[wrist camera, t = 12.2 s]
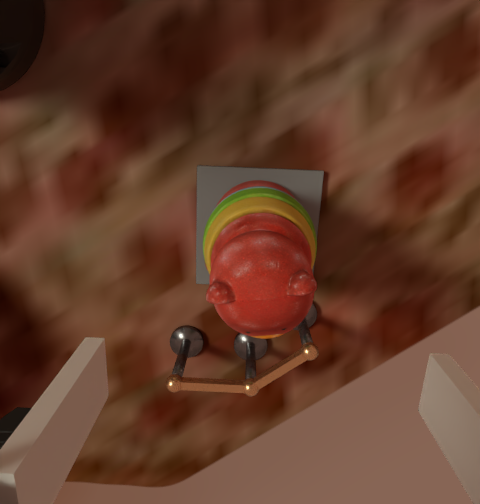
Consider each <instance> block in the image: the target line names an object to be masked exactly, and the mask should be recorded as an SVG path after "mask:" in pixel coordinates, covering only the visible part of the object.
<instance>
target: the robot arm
mask: <svg viewBox="0 0 480 504" xmlns="http://www.w3.org/2000/svg"><path fill="white" fill-rule="evenodd" d="M43 30H44V2H43V0H0V90H3V89H5V88H7V87H8V86H10V85H12V84H13V83H15V82H16V81H17V80H18V79H19V78H20V77H21V76H22V75H23V74H24V73H25V72H26V71H27V70H28V68H29V67H30V66H31V64H32V62H33V61H34V59H35V57H36V55H37V52H38V50H39V47H40V44H41V40H42V36H43ZM107 398H108V381H107V367H106V353H105V338H88V337H86V338H85V339H84V340H83V342H82V343H81V344H80V345H79V347H78V348H77V349H76V351H75V352H74V353H73V355H72V356H71V357H70V359H69V360H68V361H67V363H66V364H65V365H64V366H63V368H62V369H61V370H60V372H59V373H58V374H57V376H56V377H55V378H54V380H53V381H52V382H51V384H50V385H49V386H48V387H47V389H46V390H45V391H44V393H43V394H42V395H41V397H40V398H39V399H38V401H37V402H36V403H35V405H34V406H33V407H32V408H20V407H17V408H16V409H14V410H13V411H11V412H10V413H8V414H7V415H6V416H4V417H3V418H2V419H1V420H0V504H53V503H54V501H55V499H56V497H57V495H58V493H59V491H60V489H61V487H62V485H63V483H64V481H65V479H66V477H67V476H68V474H69V472H70V470H71V468H72V466H73V464H74V462H75V460H76V458H77V456H78V454H79V452H80V450H81V448H82V446H83V444H84V442H85V441H86V439H87V437H88V435H89V433H90V431H91V429H92V427H93V425H94V423H95V421H96V419H97V417H98V415H99V413H100V411H101V409H102V407H103V406H104V404H105V402H106V400H107ZM418 411H419V413H420V414H421V416H422V418H423V420H424V421H425V423H426V425H427V426H428V428H429V430H430V431H431V433H432V435H433V437H434V438H435V440H436V442H437V443H438V445H439V447H440V448H441V450H442V452H443V454H444V455H445V457H446V459H447V460H448V462H449V464H450V465H451V467H452V469H453V470H454V472H455V474H456V475H457V477H458V479H459V480H460V482H461V484H462V486H463V487H464V489H465V491H466V492H467V494H468V496H469V498H470V499H471V501H472V503H473V504H480V389H479V388H478V387H477V386H476V385H475V384H474V382H473V381H472V380H471V379H470V378H469V377H468V375H467V374H466V373H465V372H464V371H463V370H462V369H461V367H460V366H459V365H458V364H457V363H456V362H455V360H454V359H453V358H452V357H451V356H450V355H449V354H435V353H430V356H429V360H428V365H427V370H426V374H425V379H424V384H423V389H422V394H421V398H420V403H419V408H418Z"/></svg>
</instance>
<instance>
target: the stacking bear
mask: <svg viewBox="0 0 480 504" xmlns="http://www.w3.org/2000/svg"><path fill="white" fill-rule="evenodd" d="M316 252H317V238H316V232H315V228H314V225H313V222H312V220H311V218H310V216H309V214H308V213H307V211H306V210H305V209H304V207H303V206H302V205H301V204H300V203H299V202H298V201H297V200H296V199H295V197H294V196H293V195H292V194H291V193H290V192H289V191H288V190H287V189H285V188H284V187H282V186H280V185H278V184H276V183H273V182H270V181H263V180H253V181H247V182H244V183H241V184H239V185H236V186H235V187H233V188H231V189H230V190H229V191H228V192H226V193H225V194H224V195H223V197H222V198H221V199H220V201H219V202H218V204H217V205H216V207H215V209H214V210H213V212H212V214H211V215H210V217H209V219H208V221H207V224H206V227H205V230H204V235H203V255H204V261H205V266H206V269H207V271H208V272H209V274H210V286H209V288H208V290H207V293H206V300H207V301H208V302H210V303H212V304H214V305H215V308H216V310H217V312H218V314H219V315H220V317H221V318H222V319H223V320H224V322H225V323H226V324H227V325H228V326H230V327H231V328H233V329H234V330H236V331H238V332H240V333H242V334H244V335H248V336H251V337H255V338H261V339H268V338H275V337H278V336H281V335H283V334H284V333H287V332H289V331H290V330H292V329H294V328H295V327H296V326H298V325H299V324H300V323H301V322H302V321H303V319H304V318H305V317H306V315H307V314H308V312H309V310H310V308H311V306H312V302H313V298H314V291H316V290H317V282H316V280H315V279H314V277H313V272H312V269H313V266H314V262H315V259H316Z"/></svg>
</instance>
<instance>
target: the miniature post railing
mask: <svg viewBox="0 0 480 504" xmlns="http://www.w3.org/2000/svg"><path fill="white" fill-rule="evenodd" d="M316 318H317V311H316V308H315V305H314V304H313V302H312V306H311V308H310V310H309V312H308V314H307V315H306V317H305V318H304V319H303V321H302V322H301V323H300V324H299V325H298V326H296V327H295V328H294V330H299V334H300V338H301V342H302V346H301V349H300V350H298V351H297V352H295V353H293V354H292V355H290V356H288V357H287V358H285V359H284V360H282V361H280V362H279V363H277V364H275V365H274V366H272V367H271V368H269V369H267V370H266V371H264V372H263V373H261V374H259V375H258V376H256V360H257V359H259V358H261V357H262V356H263V355H264V354H265V353H266V351H267V340H266V339H261V338H255V337H251V336H248V335H244V334H242V333H238V335H237V336H236V338H235V341H234V349H235V352H236V353H237V355H238V356H239V357H241V358H242V359H244V360H246V380H229V379H209V378H188V377H182V375H183V371H184V368H185V364H186V360H187V358H189V357H193V356H196V355H197V354H198V353H199V352H200V351H201V350H202V347H203V342H204V340H203V336H202V334H201V332H200V331H199V330H198V329H196V328H195V327H192V326H181V327H178V328H177V329H176V330H175V331H174V332H173V333H172V336H171V338H170V346H171V348H172V350H173V351H174V352H175V353H176V354H177V355H178V356H177V359H176V362H175V366H174V369H173V372H172V375H170V376H169V377H168V378H167V380H166V387H167V389H168V390H169V391H170V392H178V391H180V390H192V391H212V392H232V393H245V394H246V395H248V396H254V395H256V394H257V393H258V391H259V389H260V388H262V387H264V386H265V385H267V384H269V383H270V382H272V381H274V380H275V379H277V378H278V377H280V376H282V375H283V374H285V373H287V372H288V371H290V370H292V369H293V368H295V367H297V366H298V365H300V364H302V363H303V362H305V361H306V360H314V359H315V358H316V357H317V356H318V353H319V350H318V347H317V346H316V344H314V343H313V341H312V338H311V334H310V331H309V327H311V326H312V325H313V324H314V322H315V321H316Z"/></svg>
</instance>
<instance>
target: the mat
mask: <svg viewBox="0 0 480 504" xmlns="http://www.w3.org/2000/svg"><path fill="white" fill-rule="evenodd" d="M323 175H324V171H319V170H296V169H273V168H249V167H226V166H203V165H198V166H197V240H196V284H210V274H209V272H208V271H207V269H206V266H205V261H204V255H203V235H204V230H205V227H206V224H207V221H208V219H209V217H210V215H211V214H212V212H213V210H214V209H215V207H216V205H217V204H218V202H219V201H220V199H221V198H222V197H223V195H224V194H225V193H226V192H228V191H229V190H230V189H231V188H233V187H235V186H236V185H239V184H241V183H244V182H247V181H253V180H263V181H270V182H273V183H276V184H278V185H280V186H282V187H284V188H285V189H287V190H288V191H289V192H290V193H291V194H292V195H293V196H294V197H295V199H296V200H297V201H298V202H299V203H300V204H301V205H302V206H303V207H304V209H305V210H306V211H307V213H308V214H309V216H310V218H311V220H312V222H313V225H314V228H315V232H316V238H317V234H318V224H319V214H320V205H321V195H322V185H323ZM314 264H315V262H314ZM312 272H313V274H314V266H313V269H312Z"/></svg>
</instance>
